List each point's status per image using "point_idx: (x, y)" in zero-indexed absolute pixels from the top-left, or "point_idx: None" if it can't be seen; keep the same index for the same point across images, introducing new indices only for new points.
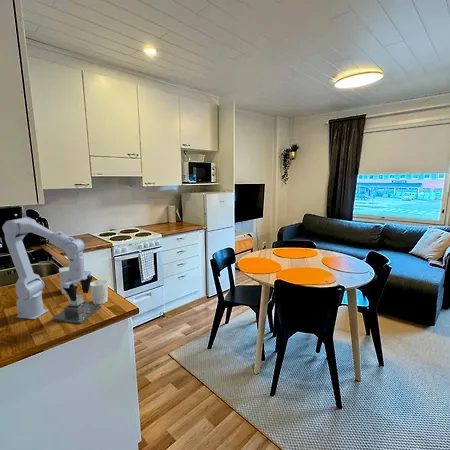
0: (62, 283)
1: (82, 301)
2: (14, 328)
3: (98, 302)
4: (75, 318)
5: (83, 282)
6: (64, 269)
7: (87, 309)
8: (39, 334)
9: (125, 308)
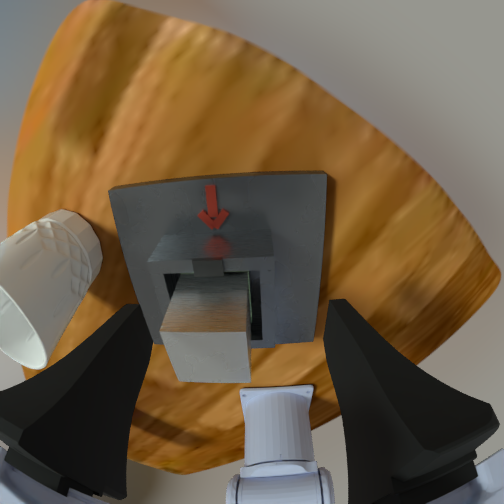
0: None
1: (183, 294)
2: None
3: (88, 236)
4: (297, 232)
5: (107, 440)
6: None
7: (182, 235)
8: (417, 293)
9: (82, 38)
